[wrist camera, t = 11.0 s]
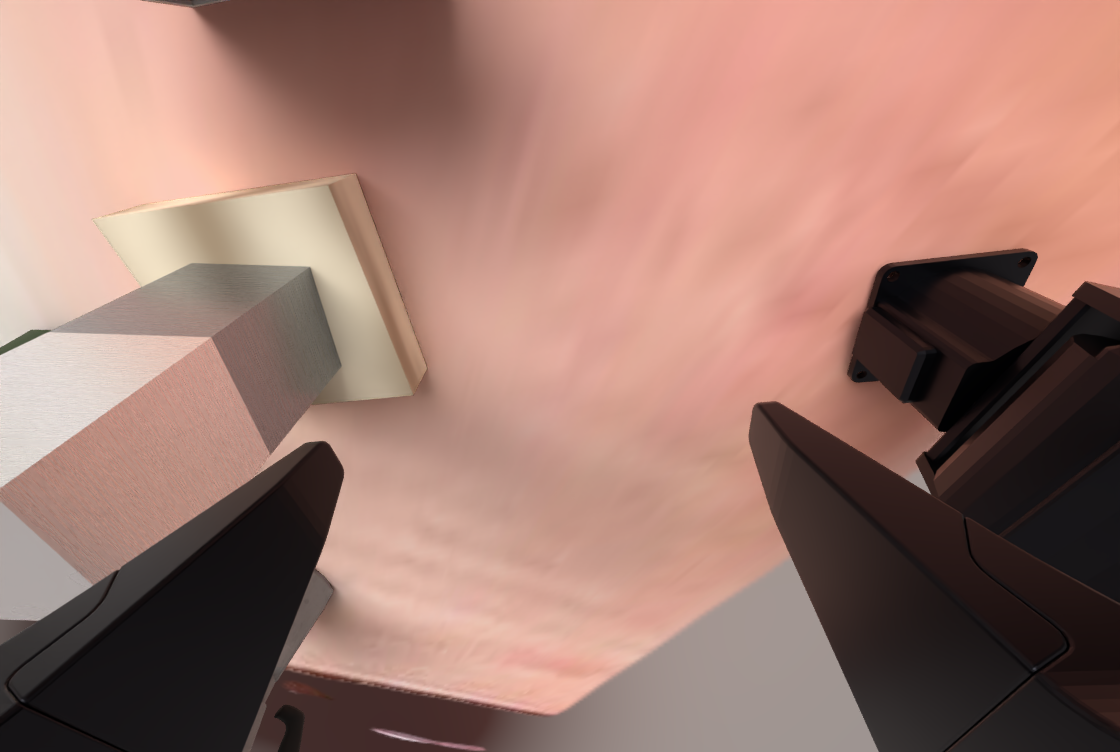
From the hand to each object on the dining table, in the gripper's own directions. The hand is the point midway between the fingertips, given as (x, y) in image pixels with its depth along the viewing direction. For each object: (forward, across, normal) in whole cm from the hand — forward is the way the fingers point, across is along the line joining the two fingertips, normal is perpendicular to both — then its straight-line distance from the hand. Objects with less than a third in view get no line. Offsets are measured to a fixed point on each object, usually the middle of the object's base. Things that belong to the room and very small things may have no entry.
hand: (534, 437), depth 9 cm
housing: (+10, +13, +1) cm, 17 cm away
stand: (+13, +13, +1) cm, 18 cm away
